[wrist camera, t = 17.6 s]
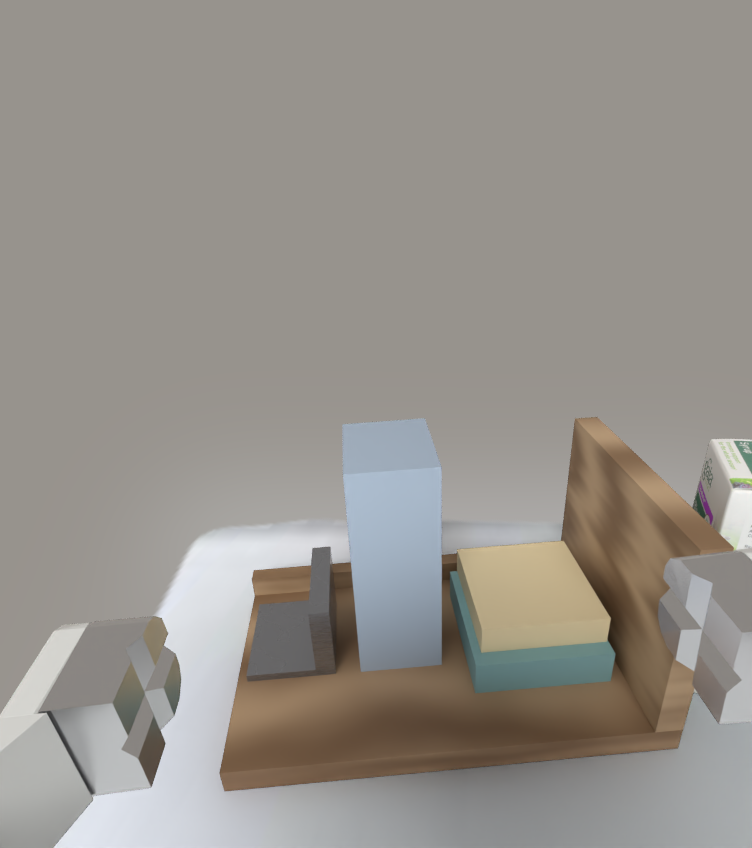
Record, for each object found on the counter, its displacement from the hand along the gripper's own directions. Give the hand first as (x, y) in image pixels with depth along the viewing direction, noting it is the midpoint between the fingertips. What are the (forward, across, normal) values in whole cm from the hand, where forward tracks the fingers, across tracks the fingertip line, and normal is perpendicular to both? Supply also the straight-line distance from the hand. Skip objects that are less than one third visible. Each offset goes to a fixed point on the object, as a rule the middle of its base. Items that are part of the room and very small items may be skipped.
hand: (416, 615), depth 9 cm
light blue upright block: (+20, 0, +21) cm, 29 cm away
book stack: (+19, -8, +22) cm, 30 cm away
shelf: (+19, -2, +23) cm, 30 cm away
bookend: (+20, +7, +21) cm, 30 cm away
